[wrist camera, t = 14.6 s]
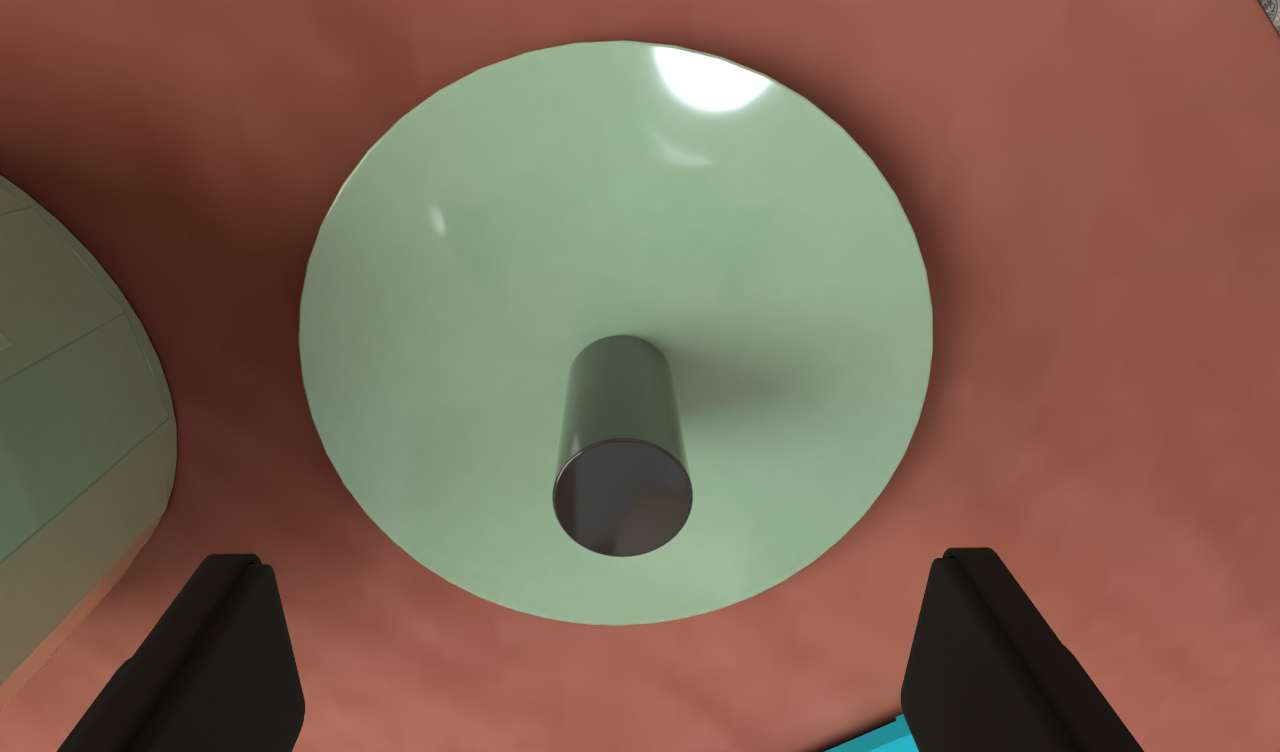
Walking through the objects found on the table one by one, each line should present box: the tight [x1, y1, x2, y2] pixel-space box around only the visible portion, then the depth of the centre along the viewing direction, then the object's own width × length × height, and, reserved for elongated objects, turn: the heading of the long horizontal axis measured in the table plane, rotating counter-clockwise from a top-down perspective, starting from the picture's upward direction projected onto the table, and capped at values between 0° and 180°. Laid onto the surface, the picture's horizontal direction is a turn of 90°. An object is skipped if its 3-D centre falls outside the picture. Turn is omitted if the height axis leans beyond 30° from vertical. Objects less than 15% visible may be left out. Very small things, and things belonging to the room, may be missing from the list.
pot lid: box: [299, 40, 933, 626], centre depth 18 cm, size 17×17×7 cm
